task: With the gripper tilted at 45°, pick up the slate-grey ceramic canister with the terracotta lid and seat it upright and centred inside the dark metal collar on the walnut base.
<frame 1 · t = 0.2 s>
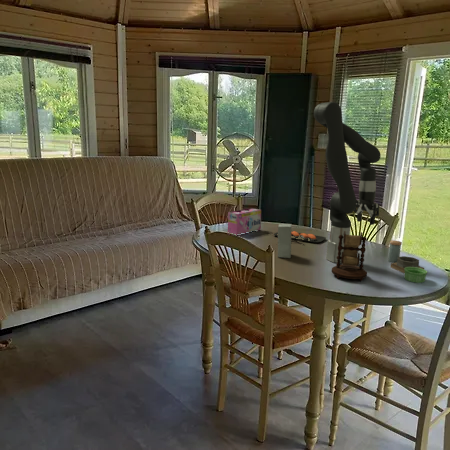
hand: (365, 223, 200), 18 cm above the table, tool pointing down, fingers open, 8 cm apart
gum box: (244, 232, 251), on the table
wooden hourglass: (348, 276, 177), on the table
socket: (406, 269, 188), on the table
skincare box: (283, 256, 204), on the table
sushi plate: (294, 242, 234), on the table
ramekin: (414, 280, 175), on the table
canister: (393, 261, 200), on the table
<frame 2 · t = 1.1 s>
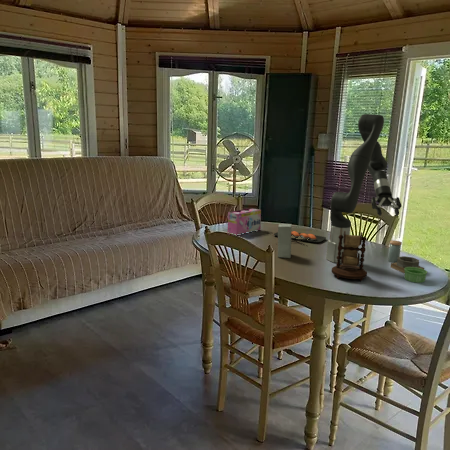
hand: (388, 215, 206), 21 cm above the table, tool tilted 45°, fingers open, 8 cm apart
nothing on the table moved.
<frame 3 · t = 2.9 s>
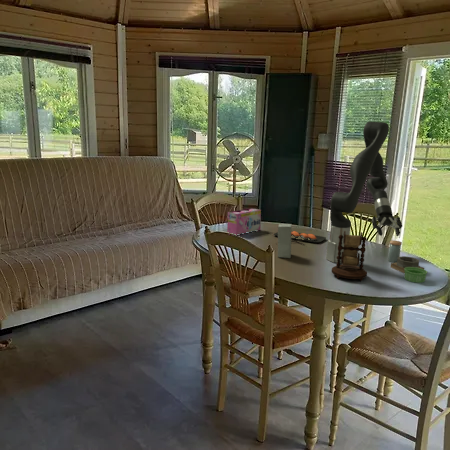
hand: (389, 235, 204), 11 cm above the table, tool tilted 45°, fingers open, 8 cm apart
nothing on the table moved.
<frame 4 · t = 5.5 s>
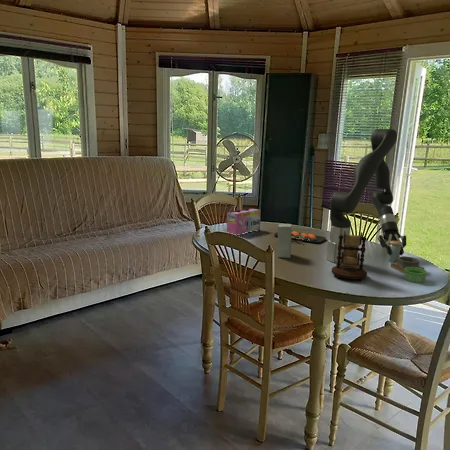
hand: (396, 254, 197), 4 cm above the table, tool tilted 45°, fingers closed on canister, 5 cm apart
canister: (393, 261, 200), on the table, touching gripper
everything else where it was.
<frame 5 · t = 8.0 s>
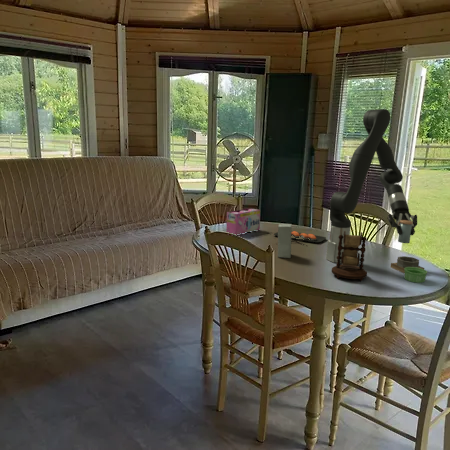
hand: (406, 234, 188), 16 cm above the table, tool tilted 45°, fingers closed on canister, 5 cm apart
canister: (403, 241, 190), point 12 cm above the table, touching gripper
everything else where it was.
when the fingers open (8 cm above the table, at t = 10.8 s): canister drops 2 cm, resting on socket.
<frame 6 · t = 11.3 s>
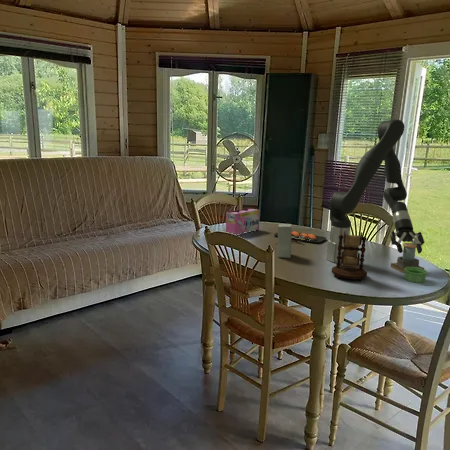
hand: (410, 252, 184), 9 cm above the table, tool tilted 45°, fingers open, 8 cm apart
canister: (407, 265, 187), point 2 cm above the table, touching socket
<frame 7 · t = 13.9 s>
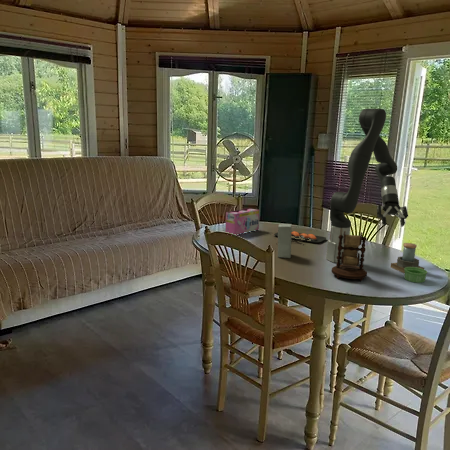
hand: (393, 225, 198), 18 cm above the table, tool tilted 40°, fingers open, 8 cm apart
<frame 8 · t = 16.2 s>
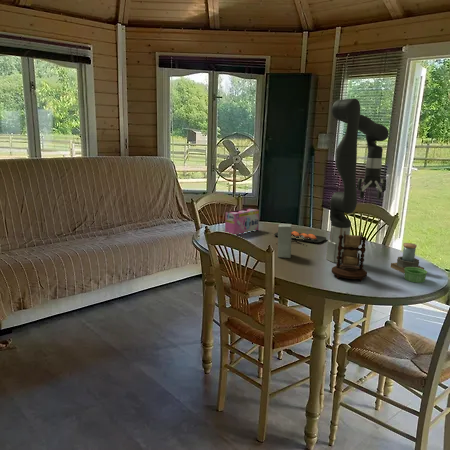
hand: (370, 198, 210), 28 cm above the table, tool pointing down, fingers open, 8 cm apart
at the end: canister 0.1 cm off-centre on the socket, point 2.0 cm above the socket's base; canister tilted 0°; the gripper is holding nothing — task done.
